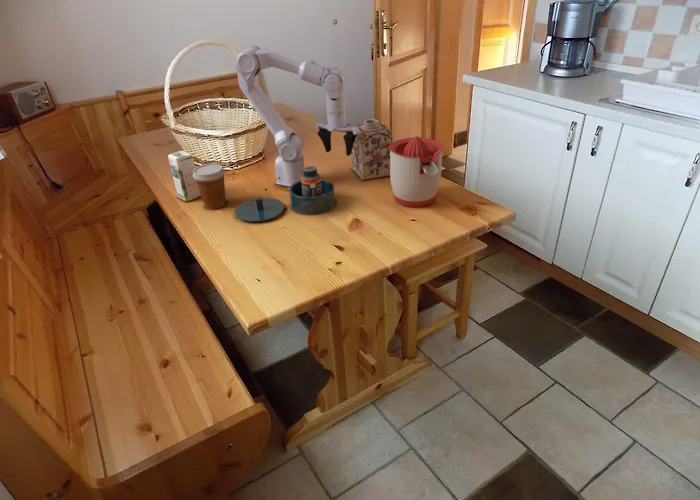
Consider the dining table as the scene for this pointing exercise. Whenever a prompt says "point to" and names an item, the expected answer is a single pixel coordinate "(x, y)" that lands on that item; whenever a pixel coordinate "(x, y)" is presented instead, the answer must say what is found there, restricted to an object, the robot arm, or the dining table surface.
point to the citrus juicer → (415, 170)
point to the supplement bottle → (311, 182)
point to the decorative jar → (372, 150)
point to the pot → (312, 199)
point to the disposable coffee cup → (211, 184)
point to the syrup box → (184, 175)
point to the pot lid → (259, 209)
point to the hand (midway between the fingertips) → (338, 153)
